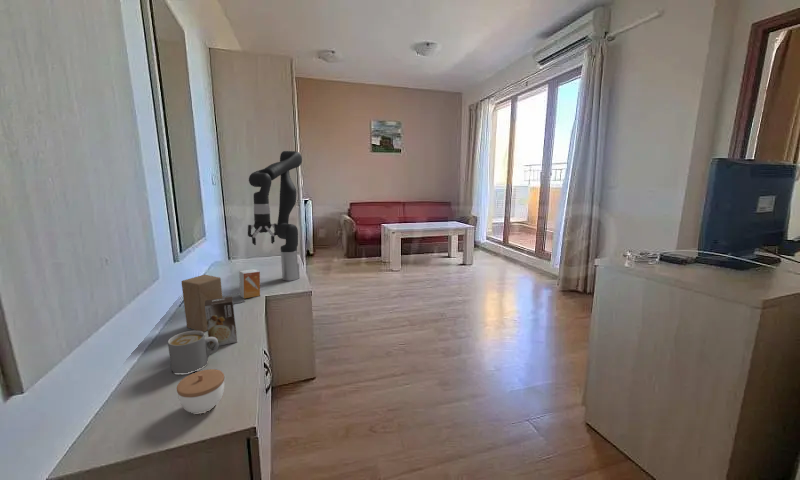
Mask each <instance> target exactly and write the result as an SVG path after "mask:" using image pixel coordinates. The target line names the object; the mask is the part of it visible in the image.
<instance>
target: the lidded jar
mask: <svg viewBox="0 0 800 480" xmlns="http://www.w3.org/2000/svg"><path fill="white" fill-rule="evenodd" d="M224 391H225V374H224V372H223V371H222V370H220V369H215V368H214V369H201V370H200V371H197V372H195V373H192V374H188V375H186V376H185V377H184V378H182V379H181V380H180V381H179V382H178V383H177V385H176V392H177V398H178V401H179V405H180V406H181V407H182V408H183V410H185V411H186V412H188V413H190V412H191V413H190V414H192V413H199V412H204V411H207V410H209V409H211V408H213V407H214V406H215V405H216V406H217V405H218V404H219V402H220V401H221V400H222V398H223V395H224Z"/></svg>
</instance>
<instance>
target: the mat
mask: <svg viewBox="0 0 800 480" xmlns="http://www.w3.org/2000/svg"><path fill="white" fill-rule="evenodd" d="M226 297H232V298H233V305H237V304H242V303H245V302H246V300H245V299H244V298H243V297H241V296H240V292H239V293H234V294H233V293H232V294H227V295H222V298H226Z"/></svg>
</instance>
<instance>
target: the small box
mask: <svg viewBox="0 0 800 480" xmlns="http://www.w3.org/2000/svg"><path fill="white" fill-rule="evenodd" d="M238 273H239V275H238V277H239V295H240V296H241V297H242V298H243V299H244V300H245V299H249V298H254V297H260V296H261V272H260V270H258V269H256V268H253V269H245V270H240V271H239V272H238Z"/></svg>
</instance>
